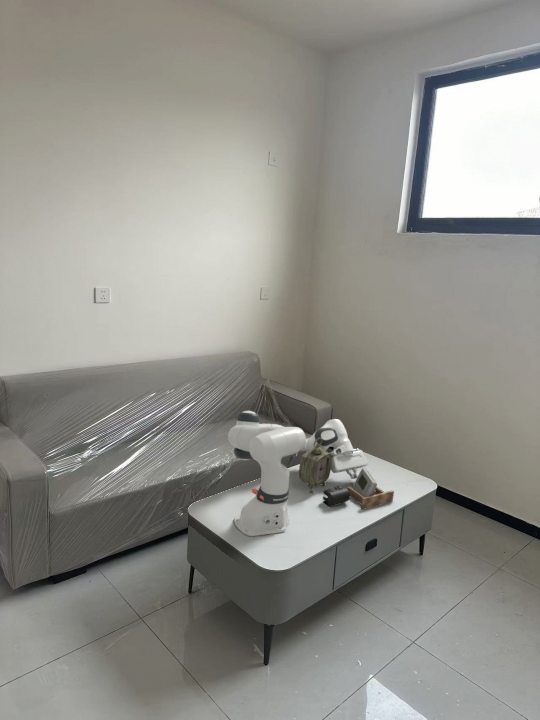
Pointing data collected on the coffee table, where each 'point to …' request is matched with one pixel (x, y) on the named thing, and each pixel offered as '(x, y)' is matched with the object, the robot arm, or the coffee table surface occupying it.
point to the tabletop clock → (315, 466)
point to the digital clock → (365, 484)
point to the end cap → (336, 496)
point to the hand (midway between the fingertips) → (354, 478)
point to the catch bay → (372, 498)
